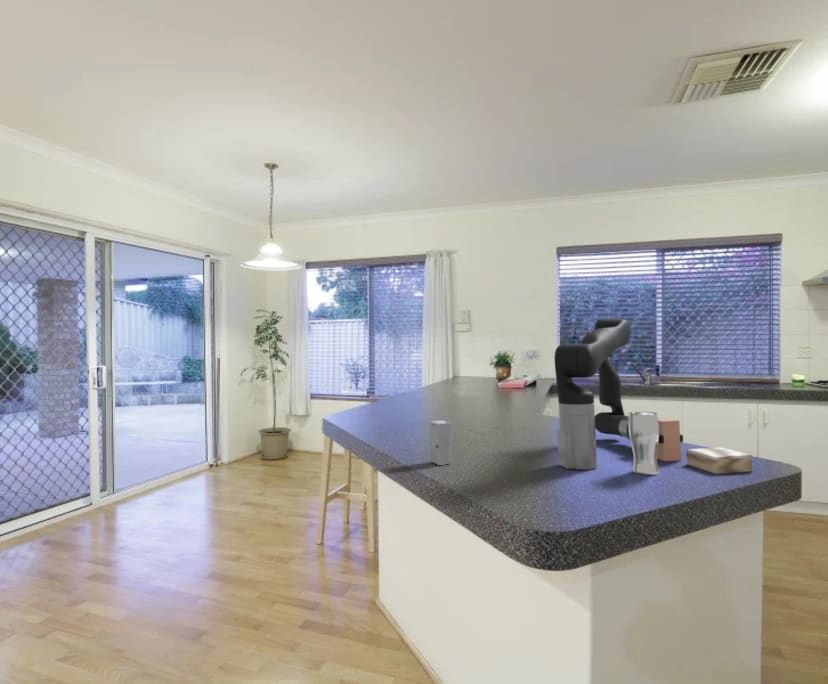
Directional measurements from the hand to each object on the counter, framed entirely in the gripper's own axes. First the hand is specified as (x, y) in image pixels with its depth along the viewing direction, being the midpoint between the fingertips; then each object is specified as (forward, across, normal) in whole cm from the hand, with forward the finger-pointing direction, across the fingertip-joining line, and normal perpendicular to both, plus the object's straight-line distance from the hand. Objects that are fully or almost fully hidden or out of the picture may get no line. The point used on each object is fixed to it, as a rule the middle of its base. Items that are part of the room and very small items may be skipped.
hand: (672, 439), depth 130 cm
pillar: (-3, 0, +6) cm, 7 cm away
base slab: (+9, +6, +6) cm, 13 cm away
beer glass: (+9, -14, +6) cm, 18 cm away
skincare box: (-14, -63, +6) cm, 65 cm away
